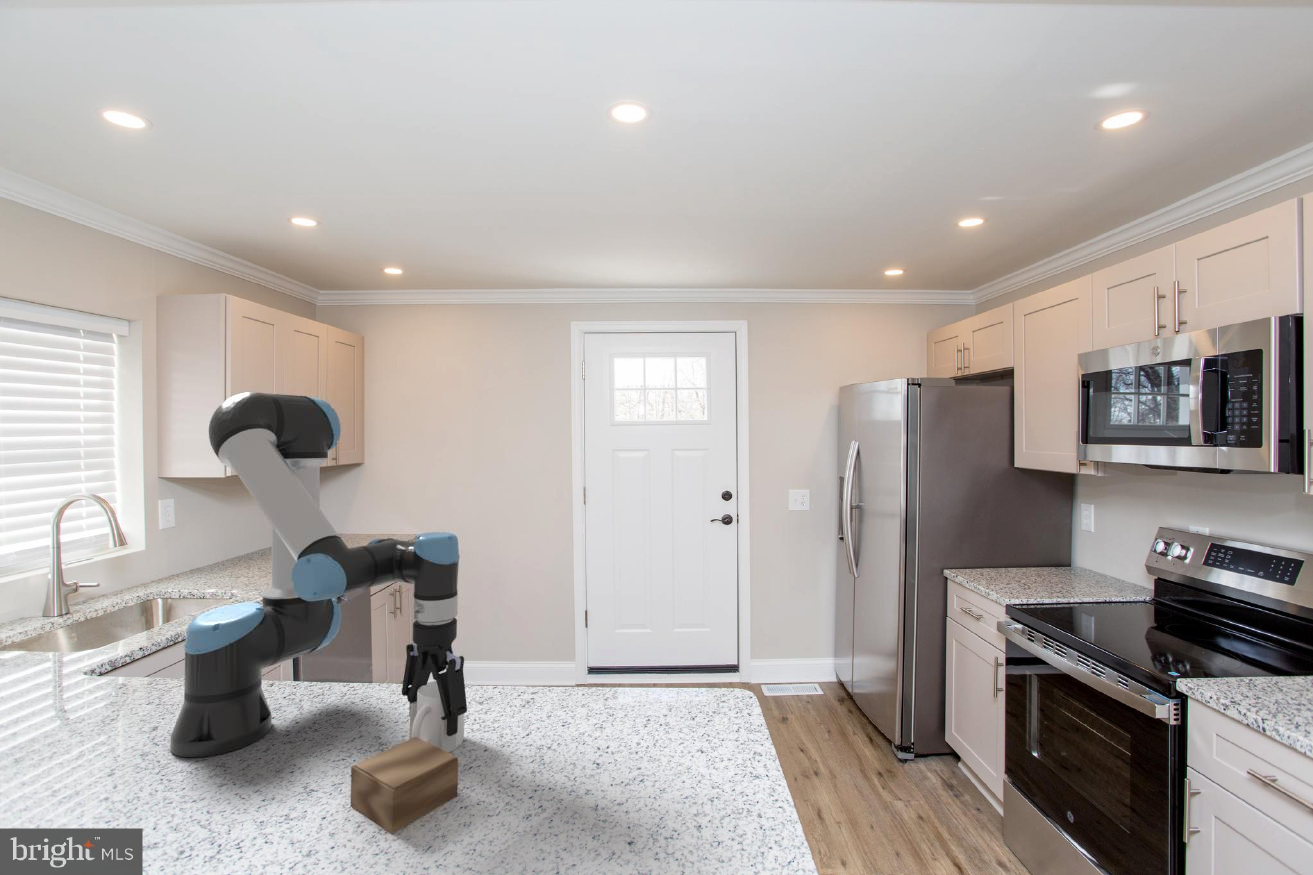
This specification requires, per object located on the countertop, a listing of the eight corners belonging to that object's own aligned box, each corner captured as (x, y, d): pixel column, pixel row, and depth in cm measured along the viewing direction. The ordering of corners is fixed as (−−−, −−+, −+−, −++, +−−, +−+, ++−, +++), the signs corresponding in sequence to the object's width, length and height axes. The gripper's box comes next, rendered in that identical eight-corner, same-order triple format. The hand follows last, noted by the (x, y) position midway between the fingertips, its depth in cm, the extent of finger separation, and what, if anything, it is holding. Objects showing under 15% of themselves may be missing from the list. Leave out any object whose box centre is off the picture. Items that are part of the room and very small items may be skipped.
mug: (432, 770, 99) (433, 709, 99) (391, 762, 101) (392, 703, 101) (472, 736, 111) (474, 682, 111) (435, 730, 113) (436, 676, 113)
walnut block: (350, 806, 89) (351, 764, 89) (415, 773, 98) (416, 735, 98) (392, 834, 83) (393, 789, 83) (457, 796, 92) (458, 755, 92)
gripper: (382, 613, 109) (379, 734, 109) (455, 636, 97) (451, 772, 97) (418, 604, 115) (415, 719, 115) (490, 625, 104) (487, 753, 104)
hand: (432, 743), depth 106 cm, fingers open, 8 cm apart
